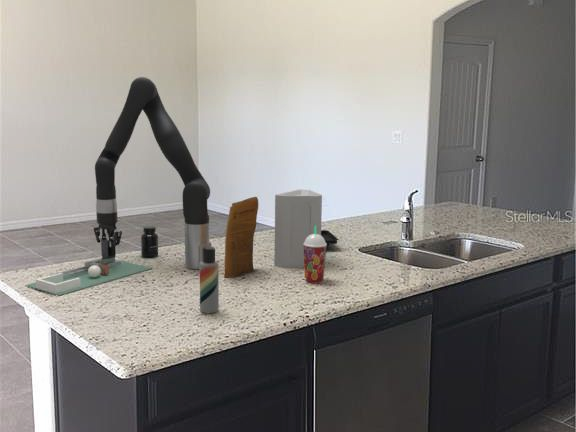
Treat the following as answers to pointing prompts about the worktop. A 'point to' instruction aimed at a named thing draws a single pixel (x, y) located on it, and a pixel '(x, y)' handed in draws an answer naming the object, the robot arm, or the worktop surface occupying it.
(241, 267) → the pancake mix bag
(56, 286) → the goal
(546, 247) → the worktop surface
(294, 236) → the paper bag
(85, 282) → the field
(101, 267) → the block
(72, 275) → the rail
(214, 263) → the lotion bottle
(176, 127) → the robot arm
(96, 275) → the ball
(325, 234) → the tray
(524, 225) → the worktop surface
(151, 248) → the supplement bottle
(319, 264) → the smoothie
